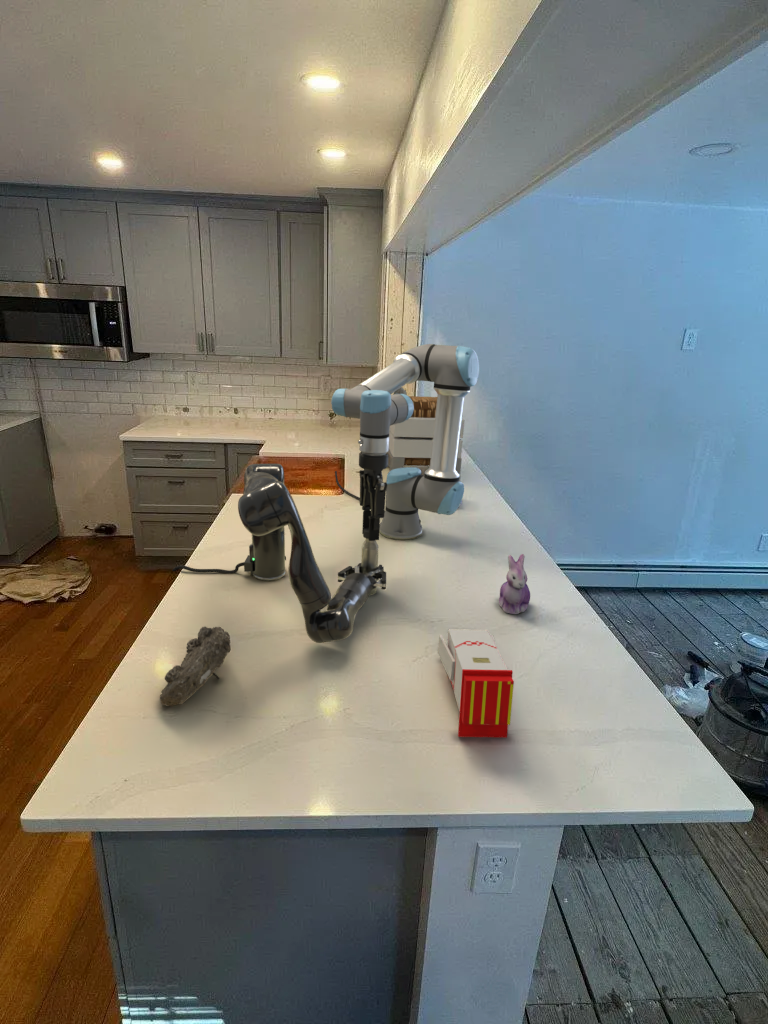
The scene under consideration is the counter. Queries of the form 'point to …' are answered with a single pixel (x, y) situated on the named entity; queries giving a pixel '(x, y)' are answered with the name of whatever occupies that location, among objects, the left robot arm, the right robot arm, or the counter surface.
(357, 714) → the counter surface
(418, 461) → the light grey slatted box
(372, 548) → the bottle
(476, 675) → the toy
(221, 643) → the fossil
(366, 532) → the cap
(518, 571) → the figurine
